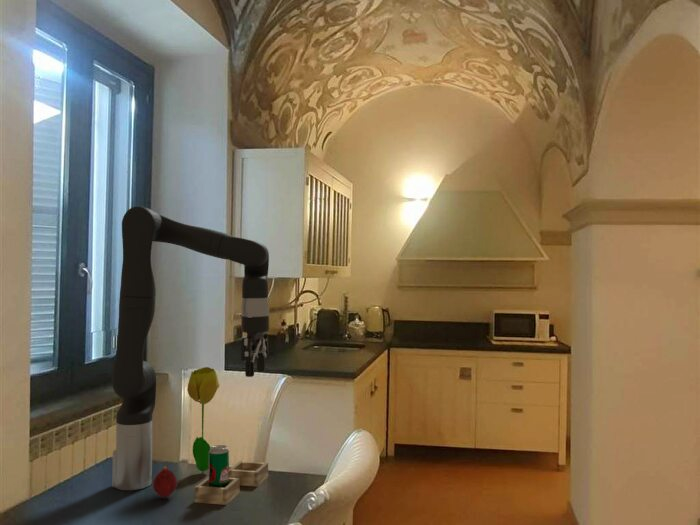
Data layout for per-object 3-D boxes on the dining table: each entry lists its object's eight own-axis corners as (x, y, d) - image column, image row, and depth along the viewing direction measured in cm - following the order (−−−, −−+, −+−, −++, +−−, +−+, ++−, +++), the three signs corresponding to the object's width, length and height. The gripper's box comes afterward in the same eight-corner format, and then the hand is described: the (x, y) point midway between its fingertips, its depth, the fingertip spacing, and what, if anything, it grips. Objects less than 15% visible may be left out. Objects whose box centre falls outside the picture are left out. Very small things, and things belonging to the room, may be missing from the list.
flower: (195, 468, 181) (195, 366, 181) (221, 469, 179) (222, 366, 180) (183, 477, 172) (184, 370, 173) (210, 479, 171) (211, 371, 172)
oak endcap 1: (194, 502, 153) (194, 487, 153) (209, 490, 162) (209, 476, 162) (226, 504, 152) (226, 489, 152) (239, 492, 160) (239, 478, 160)
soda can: (223, 498, 154) (223, 450, 154) (205, 497, 155) (205, 449, 155) (232, 491, 159) (232, 445, 159) (214, 490, 160) (214, 444, 160)
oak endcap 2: (228, 484, 167) (228, 470, 167) (239, 474, 175) (239, 461, 175) (257, 486, 165) (257, 472, 165) (268, 476, 173) (268, 462, 173)
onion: (181, 496, 158) (181, 464, 158) (166, 503, 153) (166, 471, 153) (164, 492, 160) (164, 461, 160) (148, 499, 155) (148, 468, 155)
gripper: (251, 312, 175) (252, 369, 175) (231, 316, 161) (232, 377, 161) (276, 312, 174) (277, 370, 173) (258, 316, 160) (259, 378, 159)
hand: (255, 373), depth 167 cm, fingers open, 8 cm apart
